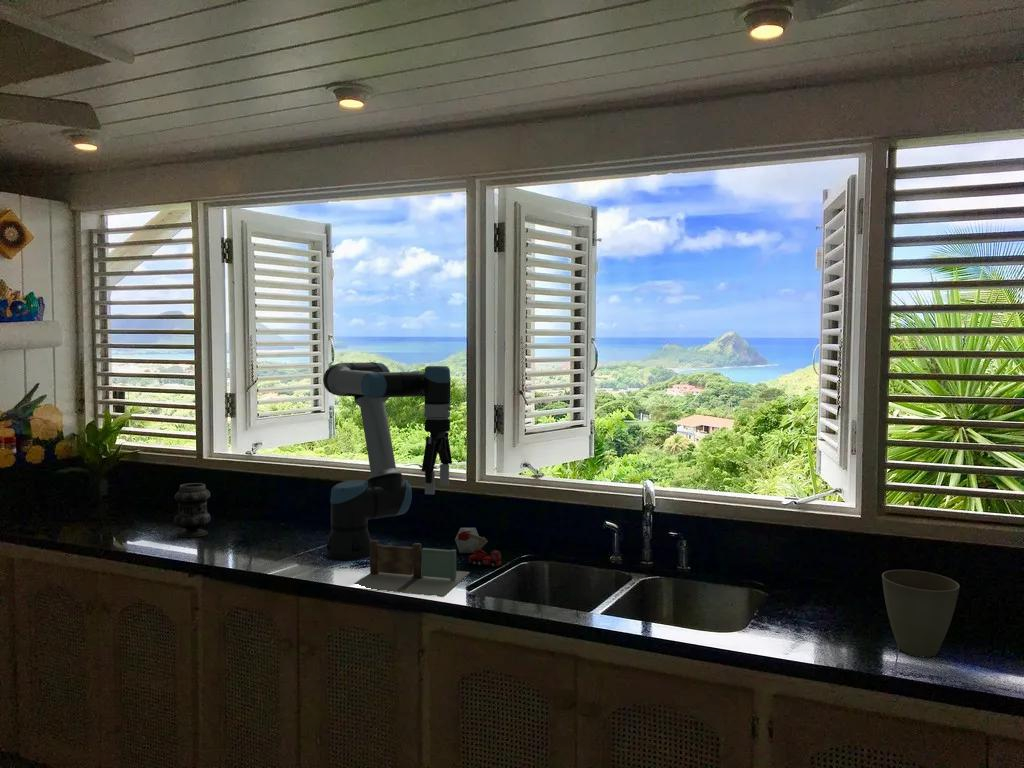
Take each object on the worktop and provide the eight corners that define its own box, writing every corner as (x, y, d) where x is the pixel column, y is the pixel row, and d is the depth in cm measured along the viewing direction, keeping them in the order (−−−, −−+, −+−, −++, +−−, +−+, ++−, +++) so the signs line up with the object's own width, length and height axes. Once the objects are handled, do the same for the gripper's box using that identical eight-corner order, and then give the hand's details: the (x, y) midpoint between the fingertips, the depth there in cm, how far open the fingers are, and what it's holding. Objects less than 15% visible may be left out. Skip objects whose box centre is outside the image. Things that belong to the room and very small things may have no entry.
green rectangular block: (421, 577, 211) (421, 548, 210) (423, 575, 213) (423, 547, 212) (454, 580, 208) (454, 551, 208) (456, 578, 210) (456, 549, 210)
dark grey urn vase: (218, 533, 264) (217, 483, 263) (187, 540, 254) (187, 489, 253) (197, 529, 271) (196, 480, 270) (167, 535, 261) (166, 485, 260)
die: (470, 559, 235) (486, 533, 237) (447, 544, 236) (464, 519, 239) (471, 561, 242) (486, 536, 245) (449, 547, 244) (465, 522, 246)
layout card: (349, 587, 203) (349, 586, 203) (383, 565, 225) (383, 564, 225) (443, 596, 196) (443, 595, 196) (469, 573, 217) (469, 571, 217)
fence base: (368, 575, 215) (368, 541, 214) (372, 573, 217) (372, 539, 217) (419, 579, 211) (419, 545, 210) (422, 577, 213) (422, 543, 213)
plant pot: (884, 659, 157) (886, 585, 156) (876, 634, 171) (878, 566, 170) (964, 670, 152) (966, 594, 151) (950, 643, 165) (952, 573, 165)
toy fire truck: (498, 567, 223) (499, 536, 223) (457, 563, 228) (457, 532, 227) (502, 564, 226) (502, 533, 226) (461, 560, 231) (461, 530, 231)
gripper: (435, 422, 203) (435, 498, 204) (461, 414, 227) (461, 482, 228) (410, 421, 205) (410, 497, 205) (438, 414, 229) (438, 481, 230)
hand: (437, 489), depth 217 cm, fingers open, 13 cm apart
